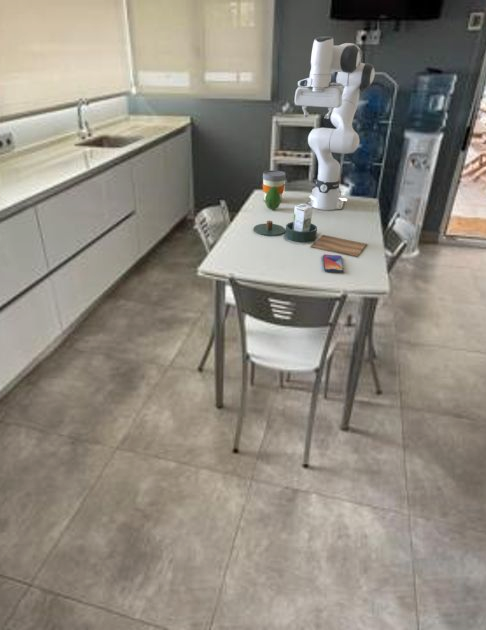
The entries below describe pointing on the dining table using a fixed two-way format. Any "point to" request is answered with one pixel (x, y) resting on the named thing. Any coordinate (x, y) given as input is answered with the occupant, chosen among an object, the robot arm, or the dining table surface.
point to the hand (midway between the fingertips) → (316, 117)
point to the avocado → (272, 198)
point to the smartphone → (333, 263)
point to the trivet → (339, 245)
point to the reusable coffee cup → (273, 181)
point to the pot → (301, 234)
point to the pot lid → (269, 229)
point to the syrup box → (302, 218)
